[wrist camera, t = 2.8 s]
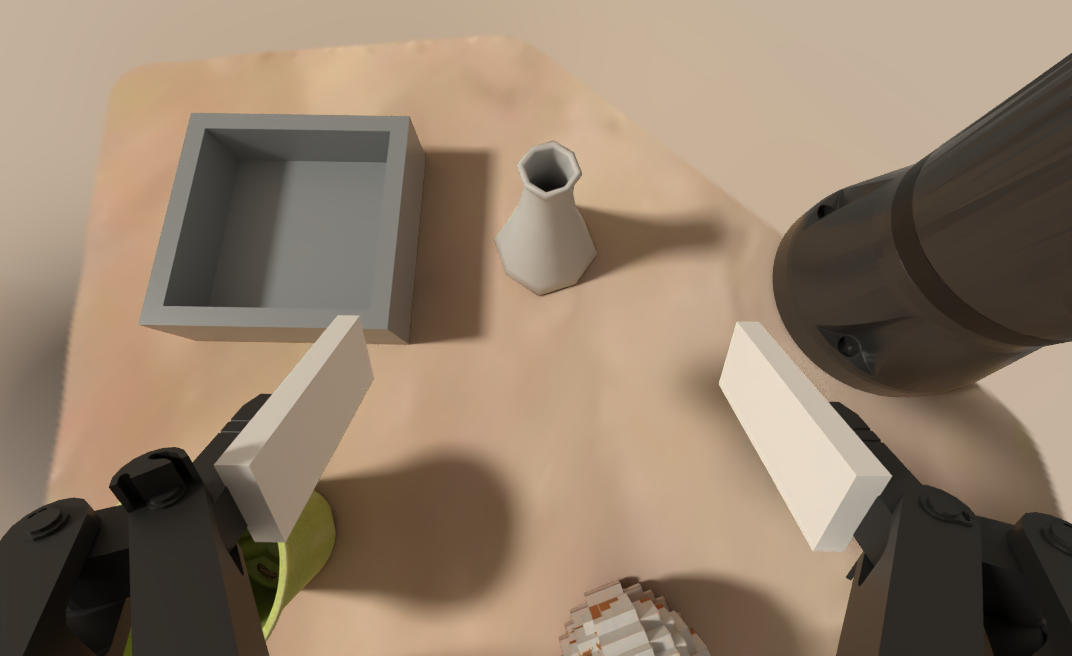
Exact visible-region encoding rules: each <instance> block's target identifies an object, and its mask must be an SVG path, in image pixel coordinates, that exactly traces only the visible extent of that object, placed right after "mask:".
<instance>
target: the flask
mask: <svg viewBox="0 0 1072 656" xmlns="http://www.w3.org/2000/svg"><path fill="white" fill-rule="evenodd" d="M517 167H518V170H519V173H520V176H521V178H522V181H523V184H524V188H523V192H522V195H521V199H520V202H519V204H518V205H517V207H516V209H515V210H514V212H513V213H512V215H511V217H510V218H509V220H508V221H507V223H506V224H505V225H504V227H503V228H502V229H501V231H500V232H499V233H498V235H497V236H496V238H495V239H494V241H495V244H496V247H497V250H498V253H499V256H500V259H501V262H502V265H503V268H504V271H505V274H506V275H507V276H509V277H510V278H512V279H513V280H515V281H516V282H518V283H519V284H521V285H522V286H524V287H526V288H527V289H529V290H530V291H532V292H533V293H535V294H536V295H538V296H539V295H542V294H546V293H549V292H552V291H555V290H558V289H561V288H565V287H568V286H571V285H574V284H576V283H577V282H578V280H579V279H580V277H581V276H582V274H583V273H584V272H585V270H586V269H587V267H588V266H589V265H590V263H591V262H592V260H593V259H594V258H595V256H596V255H597V252H596V249H595V247H594V244H593V242H592V239H591V236H590V234H589V231H588V229H587V226H586V224H585V221H584V219H583V217H582V215H581V213H580V212H579V210H578V209H577V207H576V205H575V201H574V196H573V190H574V185H575V184H576V183H577V181H578V180H579V179H580V177H581V176H582V172H581V169H580V167H579V164H578V162H577V159H576V157H575V154H574V152H572V151H570V150H569V149H567V148H565V147H564V146H562V145H561V144H559V143H557V142H556V141H551V142H547V143H544V144H540V145H537V146H533V147H531V148H530V149H529V151H528V152H527V153H526V154H525V155H524V157H523V158H522V159H521V160H520V162H519V163H518V164H517Z"/></svg>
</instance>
